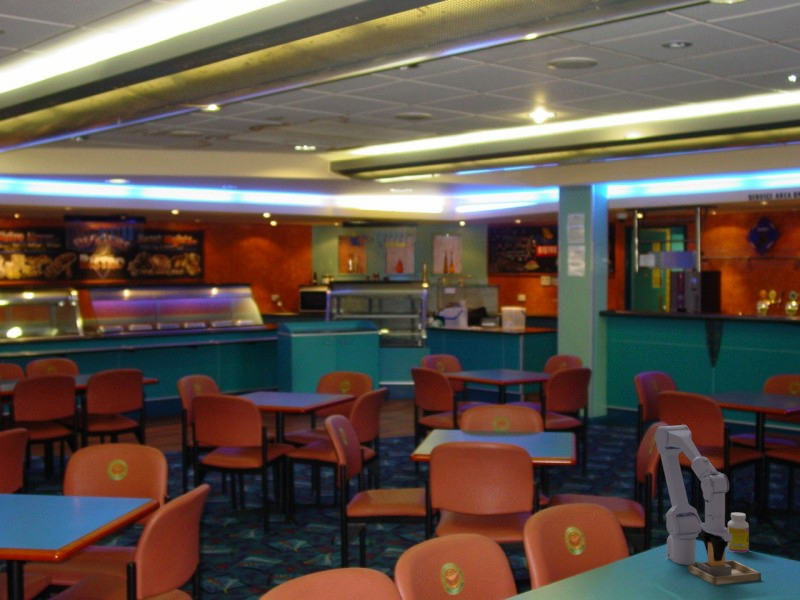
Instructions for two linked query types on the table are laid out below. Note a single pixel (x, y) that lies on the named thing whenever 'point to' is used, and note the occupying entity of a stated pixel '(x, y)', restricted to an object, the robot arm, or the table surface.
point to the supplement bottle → (738, 533)
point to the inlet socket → (715, 569)
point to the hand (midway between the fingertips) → (714, 558)
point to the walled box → (738, 575)
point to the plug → (711, 557)
